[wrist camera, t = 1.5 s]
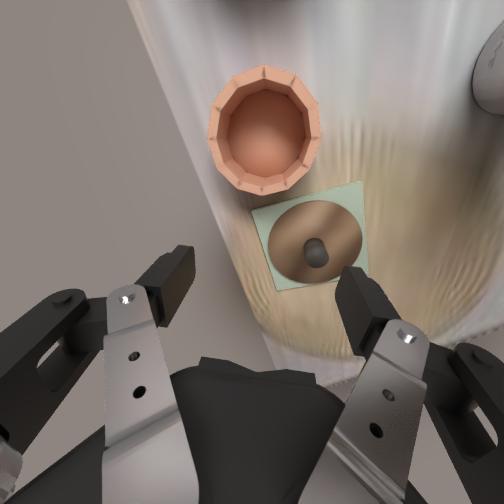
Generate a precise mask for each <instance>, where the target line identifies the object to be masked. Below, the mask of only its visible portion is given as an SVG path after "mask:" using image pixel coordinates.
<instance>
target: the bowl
mask: <svg viewBox="0 0 504 504" xmlns="http://www.w3.org/2000/svg"><path fill="white" fill-rule="evenodd" d="M207 140H208V143H209V146H210V149H211V152H212V155H213V158H214V162H215V165H216V168H217V169H218V170H219V171H220V172H221V173H222V174H223V175H224V176H225V177H226V178H227V179H228V180H229V181H230V182H231V183H232V184H233V185H234V186H235V187H236V188H237V189H240V190H244V191H247V192H251V193H254V194H257V195H261V196H263V195H267V194H271V193H275V192H279V191H283V190H287V189H289V188H290V187H291V186H292V185H293V184H294V183H295V182H297V181H298V180H299V179H300V178H301V177H302V176H303V175H304V174H305V173H306V172H307V171H309V170H310V167H311V165H312V162H313V159H314V157H315V154H316V151H317V149H318V146H319V143H320V141H321V130H320V121H319V112H318V103H317V102H316V100H315V99H314V97H313V96H312V95H311V93H310V92H309V91H308V89H307V88H306V87H305V85H304V84H303V83H302V81H301V80H300V79H299V77H298V76H297V75H296V74H293V73H290V72H287V71H284V70H281V69H277V68H274V67H271V66H268V65H261V66H258V67H256V68H253V69H251V70H248V71H245V72H243V73H240V74H237V75H235V76H232V77H231V79H230V80H229V82H228V83H227V84H226V86H225V87H224V88H223V90H222V91H221V93H220V94H219V95H218V97H217V98H216V100H215V101H214V102H213V104H212V106H211V113H210V121H209V128H208V136H207Z"/></svg>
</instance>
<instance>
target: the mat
mask: <svg viewBox="0 0 504 504" xmlns="http://www.w3.org/2000/svg"><path fill="white" fill-rule="evenodd" d="M313 200H323V201H329V202H333V203H336V204H339V205H340V206H342V207H344V208H345V209H347V210H348V211H349V212H350V213H351V214H352V215H353V216H354V217H355V218H356V220H357V221H358V223H359V225H360V227H361V231H362V237H363V240H362V248H361V251H360V254H359V256H358V258H357V260H356V261H355V263H354V264H353V265H352V266H355V267H361V268H362V269H363V271H364V272H365V274H366V275H369V269H368V255H367V242H366V228H365V215H364V201H363V188H362V181H361V180H360V181H356V182H353V183H349V184H345V185H342V186H338V187H334V188H331V189H327V190H323V191H320V192H316V193H312V194H309V195H305V196H301V197H298V198H294V199H290V200H287V201H283V202H279V203H276V204H272V205H268V206H265V207H261V208H257V209H254V210H252V211H251V212H252V215H253V218H254V221H255V224H256V227H257V230H258V233H259V237H260V240H261V243H262V246H263V249H264V252H265V255H266V258H267V261H268V264H269V268H270V271H271V274H272V277H273V280H274V283H275V286H276V289H277V291H279V290H285V289H291V288H296V287H302V286H308V285H313V284H307V283H300V282H296V281H293V280H291V279H289V278H287V277H285V276H284V275H282V274H281V273H280V272H279V271H278V270H277V269H276V268H275V266H274V265H273V263H272V261H271V259H270V256H269V252H268V239H269V234H270V231H271V229H272V227H273V225H274V223H275V222H276V220H277V219H278V218H279V217H280V216H281V215H282V214H283V213H284V212H285V211H287V210H288V209H290V208H291V207H293V206H295V205H298V204H300V203H303V202H307V201H313ZM340 276H341V275H340ZM340 276H338V277H337V278H335V279H332V280H330V281H336V280H339V279H340ZM330 281H326V282H330ZM322 283H325V282H322ZM315 284H319V283H315Z"/></svg>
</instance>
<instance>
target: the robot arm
mask: <svg viewBox="0 0 504 504" xmlns="http://www.w3.org/2000/svg"><path fill="white" fill-rule="evenodd" d="M473 93H474V96H475V99H476V101H477V103H478V104H479V105H480V107H481V108H483V109H484V110H486V111H487V112H490V113H493V114H504V22H503V23H502V24H501V25H500V26H499V27H498V28H497V29H496V30H495V32H494V33H493V34H492V36H491V37H490V39H489V40H488V42H487V43H486V44H485V46H484V48H483V50H482V52H481V54H480V56H479V58H478V61H477V64H476V67H475V70H474V75H473ZM194 278H195V254H194V248H193V247H192V246H185V245H178V246H177V247H176V248H175V249H174V250H173V252H172V253H166V254H164V255H162V256H160V257H159V258H158V259H157V260H156V261H155V262H154V264H152V265H151V266H150V268H149V269H148V270H147V271H146V272H145V273H144V274H143V275H142V276H141V277H140V278H139V279H138V280H137V281H136V282H135V283H134V284H131V285H125V286H122V287H119V288H117V289H115V290H114V291H112V292H111V293H110V294H109V295H108V297H101V298H91V299H87V297H86V295H85V293H84V291H82V290H80V289H67V290H62V291H59V292H56V293H54V294H52V295H50V296H48V297H47V298H45V299H44V300H42V301H41V302H40V303H39V304H37V305H36V306H35V307H33V308H32V309H31V310H30V311H28V312H27V313H26V314H24V315H23V316H22V317H20V318H19V319H18V320H17V321H15V322H14V323H13V324H11V325H10V326H9V327H7V328H6V329H5V330H4V331H2V332H1V333H0V504H428V503H427V502H426V501H425V500H424V498H423V497H422V496H421V495H420V494H419V492H418V491H417V490H416V489H415V487H414V486H413V485H412V484H411V483H410V481H409V480H408V476H409V471H410V466H411V461H412V456H413V452H414V447H415V442H416V437H417V432H418V428H419V423H420V418H421V412H422V408H423V403H424V405H425V407H426V409H427V411H428V413H429V415H430V417H431V419H432V421H433V423H434V426H435V428H436V430H437V432H438V434H439V436H440V438H441V440H442V442H443V444H444V446H445V448H446V450H447V453H448V455H449V457H450V459H451V461H452V463H453V465H454V467H455V469H456V471H457V473H458V475H459V478H460V480H461V482H462V484H463V486H464V488H465V490H466V492H467V494H468V496H469V498H470V500H471V503H472V504H504V363H503V362H502V361H501V360H499V359H498V358H497V357H496V356H494V355H493V354H491V353H490V352H488V351H487V350H485V349H482V348H481V347H478V346H476V345H473V344H470V343H459V344H457V346H456V347H455V348H454V349H453V350H450V349H448V348H445V347H442V346H439V345H437V344H434V343H431V342H429V339H428V338H427V336H426V335H425V334H424V333H423V332H422V331H421V330H420V329H419V328H417V327H416V326H414V325H413V324H411V323H408V322H406V321H403V320H402V319H401V317H400V316H399V314H398V313H397V311H396V310H395V308H394V307H393V305H392V304H391V302H390V301H389V300H388V298H387V296H386V295H385V294H384V291H383V290H382V288H381V287H380V285H379V284H377V283H376V282H375V281H374V280H373V279H371V278H368V277H367V276H366V274H365V272H364V271H363V269H362V268H361V267H355V266H347V265H346V266H344V268H343V270H342V273H341V276H340V279H339V281H338V284H337V287H336V291H335V300H336V303H337V306H338V309H339V312H340V315H341V318H342V321H343V324H344V327H345V330H346V333H347V336H348V339H349V342H350V345H351V348H352V351H353V354H354V355H356V356H363V357H365V359H366V362H365V364H364V366H363V368H362V370H361V372H360V374H359V376H358V377H357V379H356V381H355V384H354V385H353V387H352V389H351V391H350V393H349V395H348V397H347V399H346V401H345V402H344V403H343V402H342V401H341V400H340V399H339V398H338V397H337V396H336V395H334V394H333V393H332V392H330V391H329V390H327V389H326V388H324V387H322V386H320V385H318V384H316V379H315V373H308V372H301V371H295V370H288V369H284V370H275V371H265V372H254V371H252V370H250V369H247V368H245V367H243V366H240V365H238V364H235V363H233V362H231V361H228V360H221V359H215V358H208V357H201V359H200V362H199V365H198V366H193V367H188V368H185V369H182V370H180V371H177V372H176V373H173V374H172V375H170V376H169V373H168V369H167V365H166V362H165V358H164V354H163V350H162V347H161V343H160V340H159V336H158V332H157V328H158V326H160V327H168V325H169V323H170V322H171V320H172V318H173V316H174V315H175V313H176V311H177V309H178V308H179V306H180V304H181V302H182V301H183V299H184V297H185V295H186V293H187V292H188V290H189V288H190V286H191V285H192V283H193V281H194ZM56 341H57V342H58V343H59V346H58V347H57V348H56V349H55V350H54V351H53V352H52V353H51V354H50V355H49V356H48V358H47V359H46V360H45V361H44V362H43V363H42V364H41V365H40V366H39V367H38V368H37V364H38V362H39V360H40V359H41V357H42V356H43V355H44V354H45V353H46V352H47V351H48V350H49V349H50V348H51V346H52V345H54V343H55V342H56ZM100 350H104V388H105V389H104V390H105V425H104V426H102V427H101V428H100V429H98V430H97V431H96V432H94V433H93V434H92V435H90V436H89V437H88V438H87V439H85V440H84V441H83V442H81V443H80V444H79V445H77V446H76V447H75V448H74V449H72V450H71V451H70V452H68V453H67V454H66V455H64V456H63V457H62V458H60V459H59V460H58V461H57V462H55V463H54V464H53V465H51V466H50V467H49V468H47V469H46V470H45V471H43V472H42V473H41V474H39V475H38V476H37V477H36V478H34V479H33V480H32V481H30V482H29V483H28V484H26V485H25V486H24V487H22V488H21V489H20V490H18V491H17V492H16V493H15V494H13V492H14V490H15V482H16V480H17V478H18V476H19V474H20V471H21V468H22V463H23V460H22V455H23V454H24V452H25V451H26V450H27V448H28V447H29V445H30V444H31V443H32V441H33V440H34V439H35V437H36V436H37V435H38V433H39V432H40V431H41V429H42V428H43V427H44V425H45V424H46V422H47V421H48V420H49V419H50V417H51V416H52V414H53V413H54V412H55V410H56V409H57V408H58V406H59V405H60V404H61V402H62V401H63V400H64V398H65V397H66V396H67V394H68V393H69V392H70V390H71V388H72V387H73V386H74V385H75V383H76V382H77V380H78V379H79V378H80V377H81V375H82V374H83V373H84V371H85V370H86V369H87V367H88V366H89V364H90V363H91V362H92V360H93V359H94V358H95V356H96V355H97V353H98V352H99V351H100ZM478 406H479V407H480V408H481V410H482V411H483V412H484V414H485V415H486V417H487V418H488V420H489V421H490V423H491V424H492V426H493V427H494V429H495V431H496V433H497V436H498V445H497V447H496V445H495V444H494V442H493V440H492V439H491V437H490V436H489V434H488V433H487V431H486V430H485V428H484V427H483V425H482V423H481V422H480V420H479V419H478V417H477V416H476V414H475V413H474V411H473V410H474V409H476V408H477V407H478ZM12 494H13V495H12Z"/></svg>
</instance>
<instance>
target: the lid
mask: <svg viewBox="0 0 504 504" xmlns="http://www.w3.org/2000/svg"><path fill="white" fill-rule="evenodd" d="M362 240H363V237H362V231H361V227H360V225H359V223H358V221H357V220H356V218H355V217H354V216H353V215H352V214H351V213H350V212H349V211H348V210H347V209H345V208H344V207H342V206H340V205H339V204H336V203H333V202H329V201H323V200H313V201H307V202H303V203H300V204H298V205H295V206H293V207H291V208H290V209H288V210H287V211H285V212H284V213H283V214H282V215H281V216H280V217H279V218H278V219H277V220H276V222H275V223H274V225H273V227H272V229H271V231H270V234H269V239H268V252H269V256H270V259H271V261H272V263H273V265H274V266H275V268H276V269H277V270H278V271H279V272H280V273H281V274H282V275H284V276H285V277H287V278H289V279H291V280H293V281H296V282H300V283H307V284H315V283H322V282H326V281H330V280H332V279H335V278H337V277H338V276H340V275H341V273H342V270H343V268H344V266H346V265H347V266H352V265H353V264H354V263H355V261H356V260H357V258H358V256H359V254H360V251H361V248H362Z"/></svg>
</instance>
